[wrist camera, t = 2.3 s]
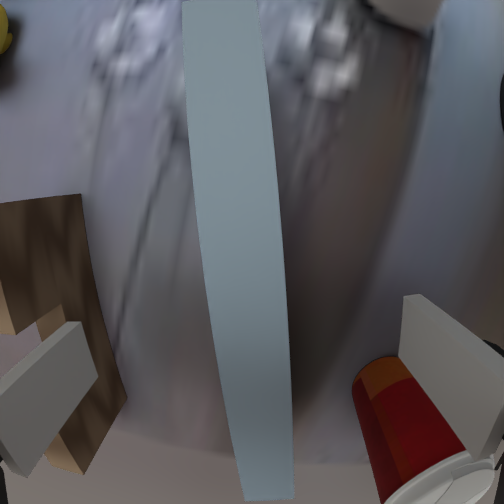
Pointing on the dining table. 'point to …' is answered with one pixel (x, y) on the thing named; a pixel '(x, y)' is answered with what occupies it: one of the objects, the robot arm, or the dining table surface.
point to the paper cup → (413, 441)
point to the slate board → (241, 236)
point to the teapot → (4, 31)
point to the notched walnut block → (59, 310)
